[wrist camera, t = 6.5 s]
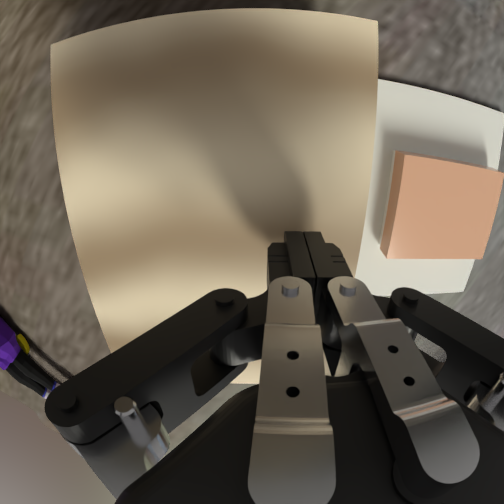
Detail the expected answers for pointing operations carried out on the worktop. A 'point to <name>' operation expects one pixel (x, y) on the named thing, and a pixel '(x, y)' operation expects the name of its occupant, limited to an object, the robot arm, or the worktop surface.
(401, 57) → the worktop surface
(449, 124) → the mat
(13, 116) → the worktop surface
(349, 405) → the robot arm
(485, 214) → the tile
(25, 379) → the toy
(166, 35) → the block
